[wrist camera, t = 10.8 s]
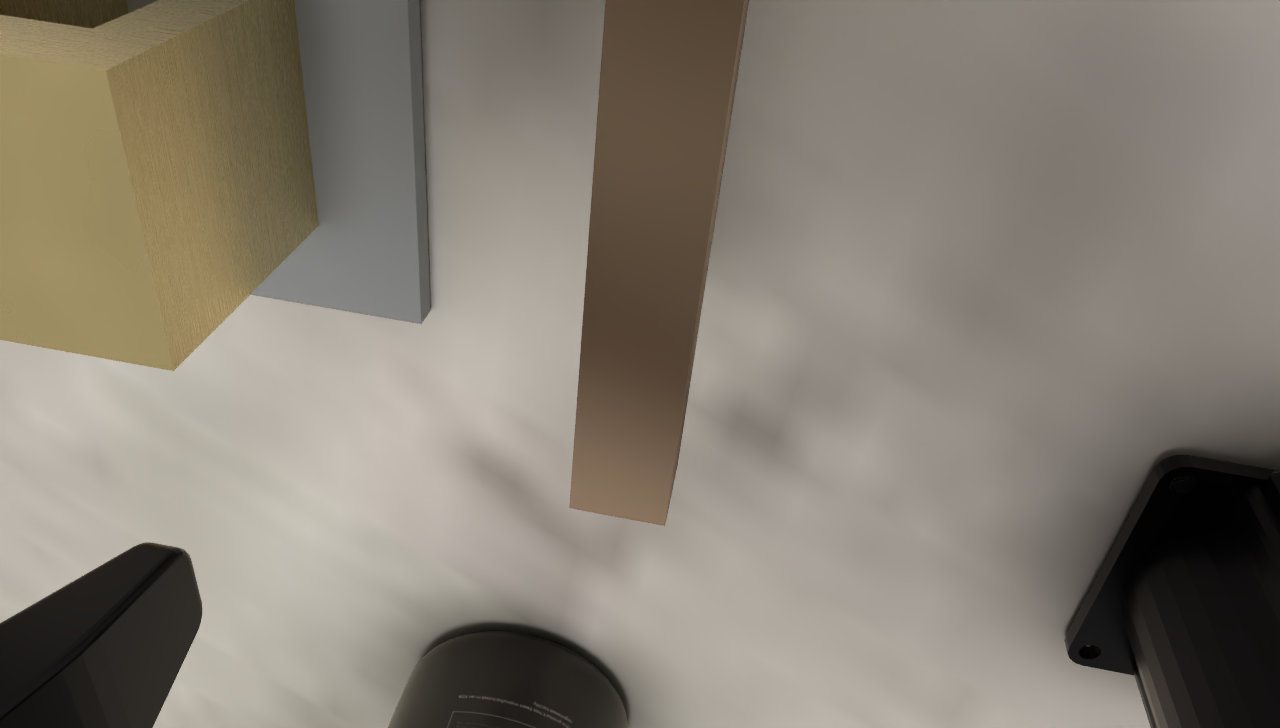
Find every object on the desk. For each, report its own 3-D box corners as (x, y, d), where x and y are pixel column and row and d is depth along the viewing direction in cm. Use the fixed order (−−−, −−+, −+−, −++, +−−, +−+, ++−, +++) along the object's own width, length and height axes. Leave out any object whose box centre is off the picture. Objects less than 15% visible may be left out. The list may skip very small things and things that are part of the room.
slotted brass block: (318, 226, 20) (173, 370, 16) (114, 192, 21) (-84, 324, 16) (292, -21, 18) (105, 70, 13) (56, -55, 18) (-204, 23, 13)
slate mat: (430, 310, 22) (420, 323, 21) (60, 246, 23) (43, 258, 22) (414, -129, 17) (402, -125, 16) (-63, -193, 17) (-90, -190, 17)
